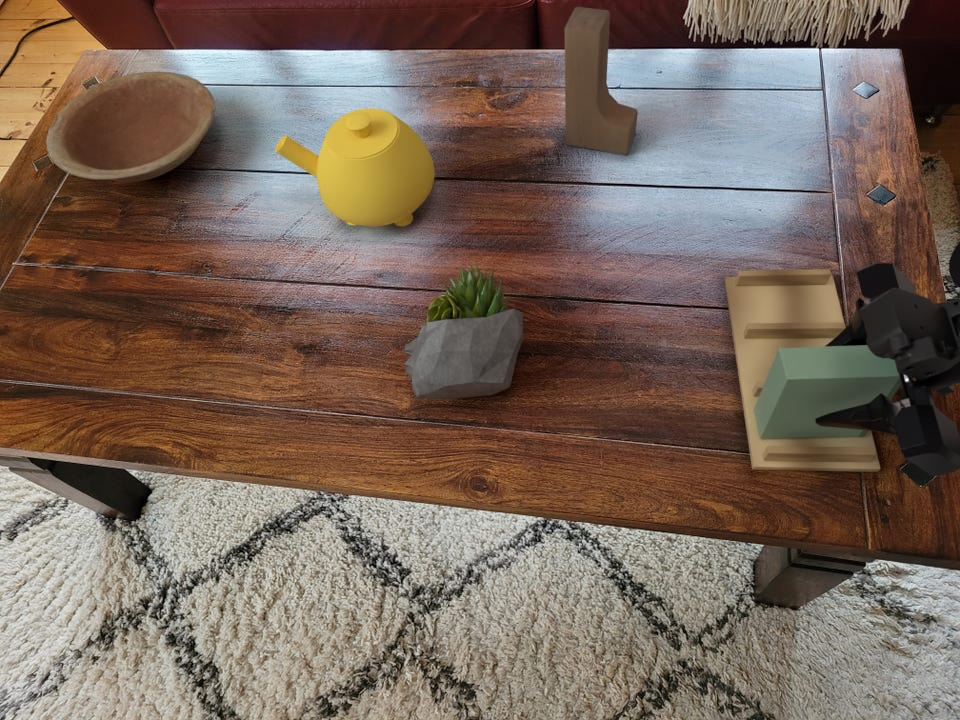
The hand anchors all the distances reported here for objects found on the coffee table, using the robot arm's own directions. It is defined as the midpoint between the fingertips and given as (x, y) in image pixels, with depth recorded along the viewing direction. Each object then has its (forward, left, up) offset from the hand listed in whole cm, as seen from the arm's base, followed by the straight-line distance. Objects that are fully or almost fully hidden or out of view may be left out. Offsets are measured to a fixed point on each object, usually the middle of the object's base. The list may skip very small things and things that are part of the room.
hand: (811, 393), depth 65 cm
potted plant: (+34, -8, -8) cm, 36 cm away
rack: (-2, -7, -8) cm, 11 cm away
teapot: (+50, -34, -8) cm, 62 cm away
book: (-1, 0, -7) cm, 7 cm away
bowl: (+85, -44, -8) cm, 97 cm away
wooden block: (+18, -44, -8) cm, 49 cm away
